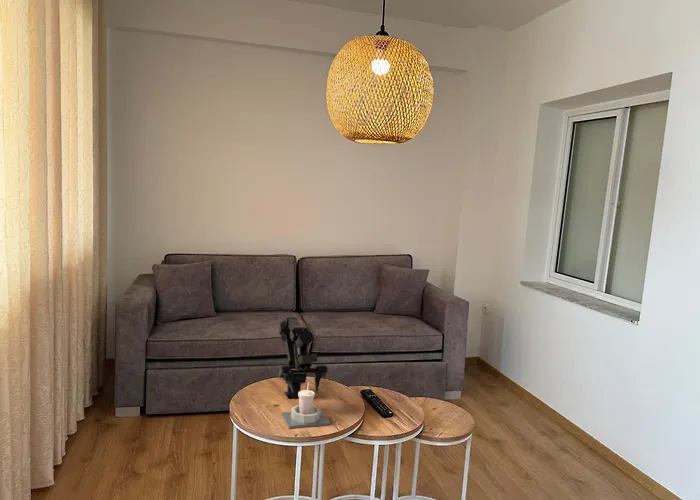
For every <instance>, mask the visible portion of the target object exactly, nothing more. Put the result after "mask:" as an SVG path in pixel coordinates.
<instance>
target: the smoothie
mask: <svg viewBox="0 0 700 500" xmlns="http://www.w3.org/2000/svg"><path fill="white" fill-rule="evenodd" d="M309 387H310V382H309V381H308V382H307V388H306V389H301V391H299V392H298V396H299V398H298V403H299V404H298V405H299V408H300V414H304V415H309V414H310V413H311V408H312V405H313V402H314V398H315V397H316V394H315V392H314V391H313V390H310V389H309Z"/></svg>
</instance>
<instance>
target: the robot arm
mask: <svg viewBox="0 0 700 500" xmlns="http://www.w3.org/2000/svg"><path fill="white" fill-rule="evenodd" d="M298 320H299V319H298V317H295V316H294V317H293V316H289V317H285V319H284V320H283V321H282V322H280V323H279V326H278V335H279V337H280V340H281V341H282V342H284V344H285V350H286V354H287V362H288V364H287V365H281V366H280V369H279V371H278V376H279V377H278V378H280V379H282V380H283V381H284V383H285V384H286V386H287V388H286V391H284V395H285V396H286V398H287V399H289V400H290V399H299V396H298V392H299V391H301V390H302V384H306V382H307V381H306V380H307V376H308V374H314V387H315V392H316V393H317V392H318V391H319V386H320V382H321V380H322V379H323V378H324V377H326V375H327V373H328V370H329V369H328V368H329V367H328V366H327V365H326V364H317V365H316V367H314V368H313V367H312V366H313V364H314V363H316V362H318V353H310V352H309V349H310V347H311V344H312V342H313V341H314V335H313V334H312V332H311V330H310V329H309V328H308V327H307V326H305V325H302V324H301V323H300V322H299V321H298ZM310 354H311V355H310Z"/></svg>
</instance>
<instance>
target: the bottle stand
mask: <svg viewBox="0 0 700 500" xmlns="http://www.w3.org/2000/svg"><path fill="white" fill-rule="evenodd" d="M290 409H291V410H290V411H285V412H283V411H282V412H280V416H281V418H282V419H283V420H284V423H285V424H286V426H287V428H288V429H300V428H308V427H309V428H310V427H311V428H312V427H322V425H323V426H329V425H328V424H330V425H331V421H330V420H329V419H328V417H327V416H326V415H325V414H324V412H323V411H322V410H321V409H320V408H319V407H318V406H317V405H313V404H312V408H311V413H310V414H309V415H304V414H300V408H299V404H296V405H295V406H292V407H291V408H290Z"/></svg>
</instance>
